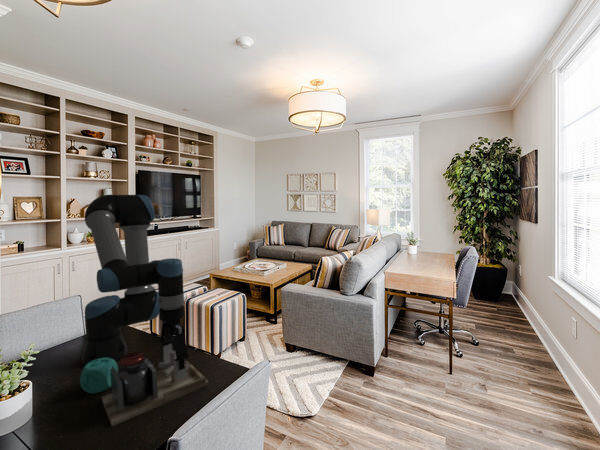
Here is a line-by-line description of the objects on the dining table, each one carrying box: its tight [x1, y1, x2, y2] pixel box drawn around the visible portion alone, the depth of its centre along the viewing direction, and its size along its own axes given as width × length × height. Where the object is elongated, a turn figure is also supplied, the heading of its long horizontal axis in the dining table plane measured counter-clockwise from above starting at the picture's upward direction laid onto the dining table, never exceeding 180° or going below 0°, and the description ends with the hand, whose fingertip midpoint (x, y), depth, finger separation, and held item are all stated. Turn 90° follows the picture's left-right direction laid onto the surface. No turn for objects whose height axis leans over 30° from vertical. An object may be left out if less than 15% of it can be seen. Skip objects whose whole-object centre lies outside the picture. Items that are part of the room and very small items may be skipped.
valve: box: [110, 351, 158, 414], centre depth 93 cm, size 10×10×14 cm
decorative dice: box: [79, 358, 119, 394], centre depth 101 cm, size 8×8×8 cm
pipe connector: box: [158, 350, 189, 382], centre depth 101 cm, size 10×10×10 cm
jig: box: [101, 360, 210, 427], centre depth 97 cm, size 15×28×3 cm, turn 132°
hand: (174, 370), depth 101 cm, fingers open, 11 cm apart
